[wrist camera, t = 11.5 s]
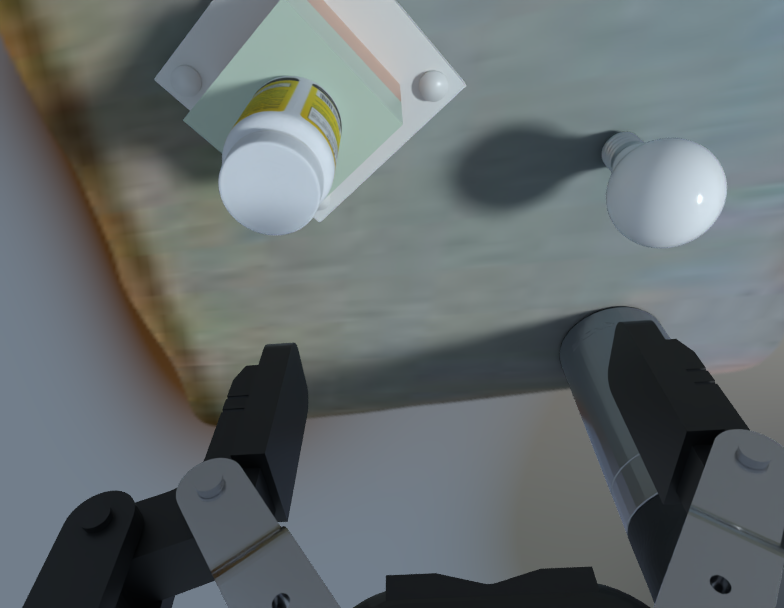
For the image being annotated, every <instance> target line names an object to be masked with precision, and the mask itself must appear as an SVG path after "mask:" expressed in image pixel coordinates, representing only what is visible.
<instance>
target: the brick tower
mask: <svg viewBox="0 0 784 608" xmlns="http://www.w3.org/2000/svg"><path fill="white" fill-rule="evenodd" d="M282 76H298V77H303V78H306V79H309V80H312V81H314V82H315V83H317V84H319V85H320V86H321V87H323V88H324V89H325V90H326V91H327V92H328V93H329V94H330V95H331V97H332V98H333V100H334V101H335V103H336V105H337V107H338V109H339V112H340V116H341V122H342V133H341V139H340V145H339V152H338V158H337V164H336V170H335V177H334V181H333V184H332V187H331V189H330V191H329V193H328V195H327V197H326V198H325V199H324V200H323V202H322V203H321V204H320V205H319V207H318V209H317V211H316V213H315V215H314V216H313V217H314V218H315V219H316V220H317V221H319V222H321V221H322V220H323V219H324V218H325V217H326V216H327V215H328V214H330V213H331V212H332V211H333V210H334V209H335V208H336V207H337V206H338V205H339V204H340V203H341V202H342V201H343V200H345V199H346V198H347V197H348V196H349V195H350V194H351V193H352V192H353V191H354V190H355V189H356V188H357V187H358V186H360V185H361V184H362V183H363V182H364V181H365V180H366V179H367V178H368V177H369V176H370V175H371V174H372V173H373V172H375V171H376V170H377V169H378V168H379V167H380V166H381V165H382V164H383V163H384V162H385V161H386V160H387V159H388V158H389V157H391V156H392V155H393V154H394V153H395V152H396V151H397V150H398V149H399V148H400V147H401V146H402V145H403V144H404V143H406V142H407V141H408V140H409V139H410V138H411V137H412V136H413V135H414V134H415V133H416V132H417V131H418V130H419V129H421V128H422V127H423V126H424V125H425V124H426V123H427V122H428V121H429V120H430V119H431V118H432V117H433V116H434V115H436V114H437V113H438V112H439V111H440V110H441V109H442V108H443V107H444V106H445V105H446V104H447V103H448V102H449V101H451V100H452V99H453V98H454V97H455V96H456V95H457V94H458V93H459V92H460V91H461V90H462V89H463V88H464V87H466V84H465V82H464V80H463V79H462V78H461V77H460V75H459V74H458V73H457V72H456V71H455V70H454V68H453V67H452V66H451V65H450V64H449V62H448V61H447V60H446V59H445V58H444V56H443V55H442V54H441V53H440V52H439V50H438V49H437V48H436V47H435V46H434V44H433V43H432V42H431V41H430V40H429V38H428V37H427V36H426V35H425V34H424V33H423V31H422V30H421V29H420V28H419V27H418V25H417V24H416V23H415V22H414V21H413V19H412V18H411V17H410V16H409V15H408V13H407V12H406V11H405V10H404V9H403V7H402V6H401V5H400V4H399V3H398V1H397V0H213V1H212V2H211V3H210V5H209V6H208V7H207V9H206V10H205V11H204V13H203V14H202V15H201V17H200V18H199V20H198V21H197V22H196V24H195V25H194V26H193V28H192V29H191V30H190V32H189V33H188V34H187V36H186V37H185V38H184V40H183V41H182V42H181V44H180V45H179V46H178V48H177V49H176V50H175V52H174V53H173V54H172V56H171V57H170V58H169V60H168V61H167V62H166V64H165V65H164V66H163V68H162V69H161V70H160V72H159V73H158V74H157V76H156V77H155V78H154V80H155V81H156V82H157V83H158V84H160V85H161V86H162V87H163V88H164V89H165V90H167V91H168V92H169V93H170V94H171V95H172V96H173V97H175V98H176V99H177V100H178V101H179V102H180V103H182V104H183V105H184V106H185V107H186V108H187V109H189V110H190V112H189V113H188V114H187V116H186V117H185V118H184V119H183V121H184V122H185V123H187V124H188V125H189V126H190V127H191V128H193V129H194V130H195V131H196V132H197V133H198V134H200V135H201V136H202V137H203V138H204V139H206V140H207V141H208V142H209V143H210V144H211V145H213V146H214V147H215V148H216V149H217V150H218V151H220V152H221V153H222V152H223V147H224V144H225V140H226V138H227V136H228V134H229V132H230V131H231V129H232V128H233V126H234V125H235V123H236V122H237V120H238V119H239V117H240V116H241V114H242V113H243V111H244V110H245V108H246V107H247V105H248V104H249V102H250V101H251V99H252V98H253V96H254V95H255V93H256V92H257V91H258V90H259V89H260V88H261V87H262V86H263V85H264V84H265V83H267V82H268V81H270V80H272V79H275V78H278V77H282Z"/></svg>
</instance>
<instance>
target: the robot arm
mask: <svg viewBox="0 0 784 608" xmlns="http://www.w3.org/2000/svg"><path fill="white" fill-rule="evenodd" d="M560 362H561V365H562V368H563V371H564V373H565V376H566V378H567V381H568V384H569V386H570V389H571V391H572V394H573V397H574V399H575V402H576V405H577V407H578V410H579V412H580V415H581V418H582V420H583V423H584V425H585V428H586V430H587V433H588V436H589V438H590V441H591V443H592V446H593V449H594V451H595V454H596V456H597V459H598V461H599V464H600V467H601V469H602V472H603V474H604V477H605V479H606V482H607V484H608V487H609V490H610V492H611V495H612V497H613V500H614V502H615V505H616V507H617V510H618V512H619V515H620V517H621V520H622V522H623V525H624V528H625V530H626V533H627V535H628V539H629V541H630V544H631V546H632V549H633V551H634V554H635V556H636V559H637V561H638V563H639V566H640V568H641V570H642V573H643V575H644V578H645V580H646V583H647V585H648V588H649V590H650V593H651V595H652V598H653V601H654V603H655V604H654V607H653V608H775V607H776V602H777V597H778V591H779V586H780V581H781V576H782V571H783V568H784V447H782V446H781V445H780V444H779V443H777V442H776V441H774V440H773V439H771V438H769V437H767V436H765V435H763V434H760V433H757V432H754V431H750V429H749V428H748V427H747V425H746V424H745V422H744V421H743V420H742V418H741V417H740V416H739V414H738V413H737V411H736V410H735V409H734V407H733V405H732V404H731V403H730V401H729V400H728V398H727V397H726V396H725V394H724V393H723V391H722V390H721V389H720V387H719V386H718V385H717V384H715V380H714V379H713V377H712V376H711V375H710V373H709V372H708V371H706V368H705V366H704V365H703V363H702V362H701V360H700V359H699V358H698V356H697V355H696V353H695V352H694V351H692V350H691V349H690V348H688V347H687V346H685V345H684V344H682V343H681V342H680V341H678V340H677V339H670V337H669V336H668V334H667V333H666V331H665V330H664V328H663V327H662V325H661V324H660V323H659V321H658V320H657V319H656V318H655V317H654V316H652V315H651V314H650V313H648V312H646V311H643V310H640V309H637V308H630V307H617V308H611V309H606V310H603V311H600V312H597V313H594V314H592V315H590V316H588V317H587V318H585V319H583V320H582V321H580V322H579V323H578V324H576V325H575V326H574V327H573V328H572V329H571V330H570V331H569V333H568V334H567V335H566V337H565V339H564V340H563V342H562V345H561V348H560ZM227 397H228V399H226V401H225V404H224V407H223V412H222V413H221V415H220V418H219V421H218V423H217V426H216V429H215V432H214V435H213V438H212V440H211V443H210V446H209V449H208V451H207V454H206V457H205V459H204V462H202V463H200V464H198V465H197V466H195V467H194V468H192V469H191V470H190V471H188V472H187V474H186V475H185V476H184V477H183V478H182V480H181V481H180V483H179V485H178V487H177V488H176V489H174V490H171V491H169V492H166V493H163V494H160V495H158V496H154V497H151V498H148V499H145V500H142V501H139V502H136V503H135V502H134V500H133V498H132V497H131V496H130V495H129V494H127V493H125V492H122V491H108V492H103V493H100V494H98V495H95V496H93V497H91V498H89V499H87V500H86V501H84V502H83V503H82V504H80V505H79V506H78V507H77V508H76V509H75V510H74V511H73V512H72V513H71V514H70V515H69V517H68V518H67V520H66V521H65V523H64V525H63V527H62V529H61V531H60V533H59V535H58V537H57V539H56V541H55V543H54V545H53V547H52V549H51V551H50V553H49V555H48V557H47V559H46V561H45V563H44V565H43V567H42V569H41V571H40V573H39V575H38V577H37V579H36V581H35V583H34V585H33V587H32V589H31V591H30V593H29V595H28V597H27V599H26V601H25V603H24V606H23V607H22V608H172V605H173V601H174V597H175V595H177V594H180V593H183V592H185V591H188V590H191V589H193V588H196V587H199V586H202V585H204V584H207V583H209V582H212V581H215V582H216V584H217V586H218V587H219V589H220V592H221V594H222V596H223V598H224V600H225V602H226V604H227V606H228V608H341V607H340V606H339V605H338V603H337V602H336V600H335V598H334V597H333V595H332V594H331V592H330V591H329V590H328V588H327V586H326V585H325V583H324V582H323V580H322V579H321V577H320V576H319V575H318V573H317V572H316V570H315V569H314V567H313V566H312V564H311V563H310V561H309V560H308V558H307V557H306V555H305V554H304V552H303V551H302V549H301V548H300V546H299V545H298V543H297V542H296V540H295V539H294V537H293V536H292V534H291V533H290V532H289V530H288V529H287V528H286V527H284V526H283V527H281V526H280V525H279V524H278V522H287V521H288V517H289V511H290V506H291V500H292V495H293V489H294V484H295V478H296V473H297V467H298V462H299V456H300V451H301V445H302V439H303V434H304V429H305V423H306V418H307V413H308V389H307V384H306V380H305V376H304V372H303V367H302V363H301V359H300V355H299V351H298V347H297V345H296V343H282V344H267V345H265V347H264V349H263V352H262V356H261V359H260V362H259V365H251V366H246V367H245V368H244V369H243V370H242V371H241V372H240V373H239V374H238V375H237V377H236V378H235V379H234V380H233V382H232V385H231V387H230V390H229V393H228V396H227ZM353 608H650V607H648V606H647V605H646V604H644V603H643V602H641V601H639V600H638V599H636V598H634V597H632V596H631V595H629V594H626V593H624V592H622V591H620V590H618V589H615V588H611V587H609V586H606V585H602V584H597V581H596V578H595V575H594V572H593V568H592V567H574V568H551V569H550V568H549V569H539V570H536V571H532V572H529V573H526V574H523V575H520V576H517V577H514V578H510V579H508V580H505V581H501V582H498V583H494V584H483V583H478V582H474V581H469V580H464V579H459V578H455V577H450V576H446V575H441V574H436V573H432V574H411V575H410V574H409V575H387V576H386V591H385V592H382V593H379V594H377V595H374V596H372V597H370V598H368V599H366V600H364V601H363V602H361V603H359V604H358V605H356V606H355V607H353Z"/></svg>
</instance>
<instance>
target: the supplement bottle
mask: <svg viewBox="0 0 784 608" xmlns="http://www.w3.org/2000/svg"><path fill="white" fill-rule="evenodd" d="M341 133H342V122H341V116H340V112H339V109H338V107H337V105H336V103H335V101H334V100H333V98H332V97H331V95H330V94H329V93H328V92H327V91H326V90H325V89H324V88H323V87H321V86H320V85H319V84H317V83H315V82H314V81H312V80H309V79H306V78H303V77H298V76H282V77H278V78H275V79H272V80H270V81H268V82H267V83H265V84H264V85H263V86H262V87H261V88H260V89H259V90H258V91H257V92H256V93H255V95H254V96H253V98H252V99H251V101H250V102H249V104H248V105H247V107H246V108H245V110H244V111H243V113H242V114H241V116H240V117H239V119H238V120H237V122H236V123H235V125H234V126H233V128H232V129H231V131H230V132H229V134H228V136H227V138H226V140H225V144H224V147H223V152H222V167H221V169H220V173H219V180H218V184H219V192H220V196H221V199H222V201H223V203H224V205H225V207H226V209H227V210H228V212H229V213H230V214H231V215H232V216H233V217H234V218H235V219H236V220H237V221H238V222H239V223H240V224H242V225H243V226H245V227H247V228H249V229H251V230H253V231H255V232H258V233H262V234H266V235H285V234H289V233H292V232H295V231H297V230H299V229H301V228H302V227H304V226H305V225H306V224H307V223H308V222H309V221H310V220H311V219H312V218H313V216H314V215H315V213H316V211H317V209H318V207H319V205H320V204H321V203H322V202H323V200H324V199H325V198H326V197H327V195H328V193H329V191H330V189H331V187H332V184H333V181H334V177H335V170H336V164H337V158H338V152H339V145H340V139H341Z"/></svg>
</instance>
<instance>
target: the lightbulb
mask: <svg viewBox="0 0 784 608" xmlns="http://www.w3.org/2000/svg"><path fill="white" fill-rule="evenodd" d="M602 160H603V162H604V164H605V165H606V166H607V167H608V169H609V170H610V171H611V172H612V174H611V176H610V179H609V181H608V185H607V189H606V206H607V211H608V214H609V216H610V219H611V221H612V222H613V224H614V226H615V227H616V228H617V229H618V231H619V232H620V233H621V234H623V235H624V236H625V237H626V238H628V239H629V240H631V241H633V242H635V243H637V244H639V245H642V246H646V247H651V248H671V247H676V246H680V245H683V244H686V243H688V242H691V241H693V240H695V239H696V238H698V237H699V236H701V235H702V234H704V233H705V232H706V231H707V230H708V229H709V228H710V227H711V226H712V225H713V224H714V223H715V221H716V220H717V219H718V217H719V215H720V214H721V212H722V210H723V207H724V204H725V201H726V196H727V180H726V176H725V172H724V170H723V167H722V165H721V164H720V162H719V160H718V159H717V158H716V157H715V155H714V154H713V153H712V152H711V151H709V150H708V149H707V148H705V147H704V146H702V145H700V144H698V143H696V142H694V141H691V140H687V139H682V138H661V139H656V140H652V141H649V142H647V143H645V142H643V141H642V140H641V139H640V138H639V137H638V136H637V135H636V134H634V133H632V132H620V133H617V134H615V135H613V136H612V137H611V138H609V139H608V140H607V142H606V143H605V145H604V147H603V149H602Z"/></svg>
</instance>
